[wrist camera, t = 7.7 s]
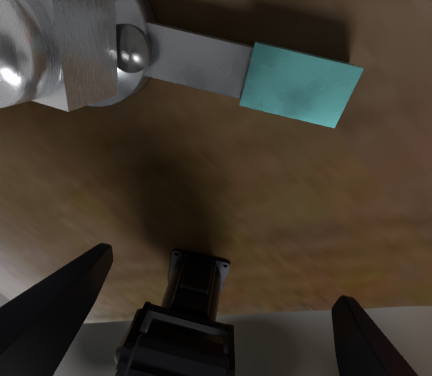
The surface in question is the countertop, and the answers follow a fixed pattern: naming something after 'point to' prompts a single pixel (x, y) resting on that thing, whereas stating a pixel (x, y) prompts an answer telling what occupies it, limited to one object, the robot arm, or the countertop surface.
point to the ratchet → (229, 68)
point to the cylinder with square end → (57, 52)
